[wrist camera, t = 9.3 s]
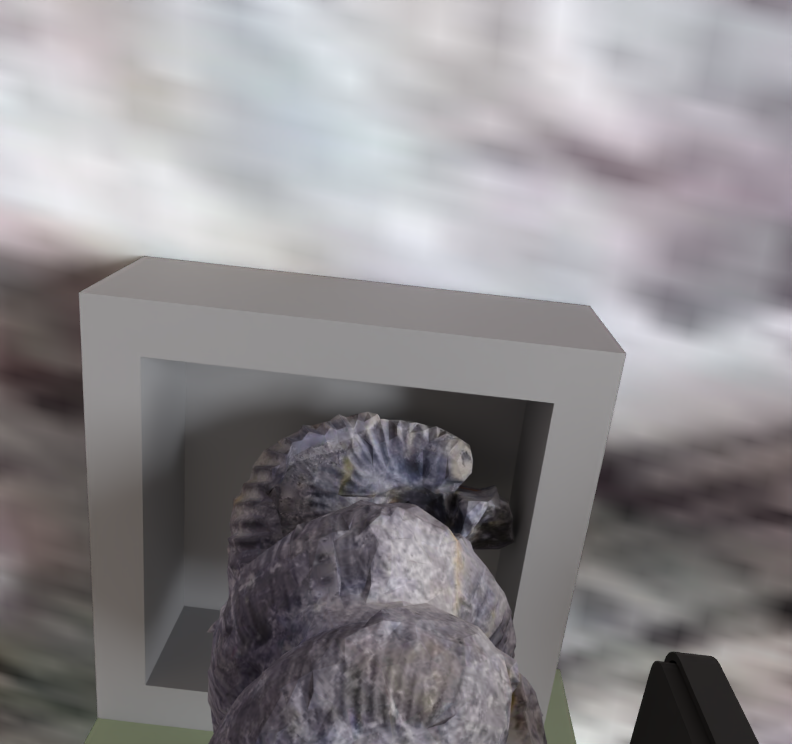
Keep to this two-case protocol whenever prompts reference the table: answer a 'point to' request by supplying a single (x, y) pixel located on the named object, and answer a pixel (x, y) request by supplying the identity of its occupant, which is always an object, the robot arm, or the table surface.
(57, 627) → the table surface
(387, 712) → the seashell
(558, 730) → the green and grey box
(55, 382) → the table surface
